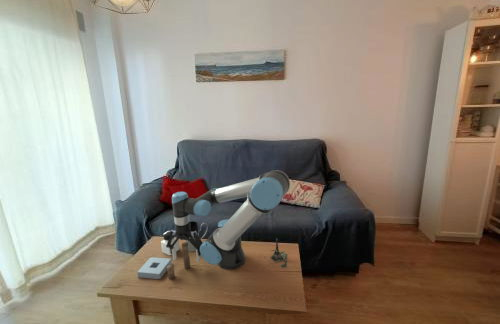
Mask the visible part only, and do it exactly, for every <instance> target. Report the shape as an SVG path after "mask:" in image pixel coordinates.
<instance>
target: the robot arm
mask: <svg viewBox="0 0 500 324" xmlns="http://www.w3.org/2000/svg"><path fill="white" fill-rule="evenodd" d="M290 181H291V180H290V178H289V176H288V174H286V173H285V172H284V171H282V170H279V169H278V170H276V169H274V170H270V171H269V172H268V171H267V172H265V173H262V174H260V175H259V177H256V178H252V179H249V180H245V181H242V182H241V181H240V182H238V183H233V184H230V185H226V186H223V187H219V188H216V187H214V188H212V189H209V190H208V191H206V192H205V193H203V194H202V195H200V196H199V197H197V198H193V197H189V195H188V193H187V192H186V191H177V192H175V193H173V194H172V196H171V205H172V211H173V220H174V229H171V230H170V231H171V232H170V237H169V240H168V243H167V245H166V247H167V248H168V247H169V248H170V252H171V254H172V255H171V256H172V261H175V260H177V251H176V248H175V246H174V245H175V244H176V242H177V241H179V240H180V241H186V240H188V241H189V242H190V243H191V244H192V245H193V246H194V247H195V248H196V249H197V250H196V251H195V255H196V256H195V257H196V262H197V263H199V262H200V260H201V257H202V259H203V260H204V261H205V262H206V263H208V264H210V265H213V266H215V265H216V266H217V265H218V266H219V267H220V268H222V269H224V270H236V269H239V268H241V267H242V266H243V265H244V264H245V263H246V254H245V251H244V249H243V247H242V235H243V234H244V233H245V232H246V230H247V229H249V228H250V226H251V225H253V224H254V223H255V221H257V220H258V218H259V217H260V216H261V215H262V214H263V215H265V214H266V215H267V214H268V213H270V212H271V210H273V209H274V208H276V207H277V206H278V205H279V204H280V203H281V201H282V199H283V198H284V197H285V195H286V194H287V193H288V192H289V190H290V186H291V182H290ZM244 198H247V199H246V200H245V201H244V202H243V204H242V205H240V207H239V208H238V209H237V210H236V211H235V212H234V213H233V215H232V216H231V217H230V218H228V219H222V220H219V222H218V223H217V228H216V229H214V231H213V232H212V233H211V234H210V236H209V237H207V239H206V240H205V241H202V239H201V237H200V235H199V236H198V233H197V231H195V232H192V231H191V225H190V222H191V217H190V215H192V216H193V215H194V216H197V217H207V216H208V215H209V213H210V212H211V210H212V207H213V206H214V205H218V204H221V203H222V204H223V203H226V202H230V201H234V200H235V201H236V200H238V199H239V200H240V199H244ZM191 234H192V235H193V236H194V238H193V236H192V235H191ZM174 235H176V236H177V237H175V238H176V240H175V241H174V242H173V244H172V245H171V242H172V239H173V236H174ZM189 237H190V239H189ZM195 240H196V241H195ZM173 246H174V247H173Z"/></svg>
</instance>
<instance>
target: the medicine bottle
mask: <svg viewBox="0 0 500 324" xmlns="http://www.w3.org/2000/svg"><path fill="white" fill-rule="evenodd" d="M171 231H172V230H167V231H166V232H164V233H163V234H162V235H163V240H161V241H160V244H161V246H160V247H161V252H162V253H163V254H166V255H168V256H172V254H171V252H170V248H169V247H168V248H167V247H166V245H167V243H168V240H169V237H170V232H171ZM175 235H176V234H174V236H173V239H172V242H171V245H172V244H173V242H174V241H175V240H176V238H177V237H175ZM174 246H175V248H176V252H178V251H180V242H179V240H178V241H177V242H176V244H175V245H174ZM174 246H173V247H174Z"/></svg>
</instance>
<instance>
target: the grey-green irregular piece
mask: <svg viewBox="0 0 500 324" xmlns="http://www.w3.org/2000/svg"><path fill="white" fill-rule="evenodd" d="M275 240H276V241H275V242H276V243H275V249H270V251H271V252H272V251H273V254H272V255H271V256H270V259H271V260H272V261H274V262H275V263H279V262H281V261H283V262H284V263H283V264H281V265H280V267H281V268H283V269H286V268H288V267H287V265H288V254H287V253H286V252H284V251H280V250H279V242H278V238H276V239H275Z"/></svg>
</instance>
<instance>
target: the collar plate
mask: <svg viewBox="0 0 500 324" xmlns="http://www.w3.org/2000/svg"><path fill="white" fill-rule="evenodd" d="M168 265H173V264H172V259H171V258H167V257H166V258H165V257H149V258H148V260H147V261H146V262H145V263H143V265H142V266H141V267H140V269H138V270H137V271H136V272H137V277H138V278H145V279H153V280H154V279H155V280H161V279H162V277H163V276H164V275H165V273H166V272H167V266H168Z"/></svg>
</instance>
